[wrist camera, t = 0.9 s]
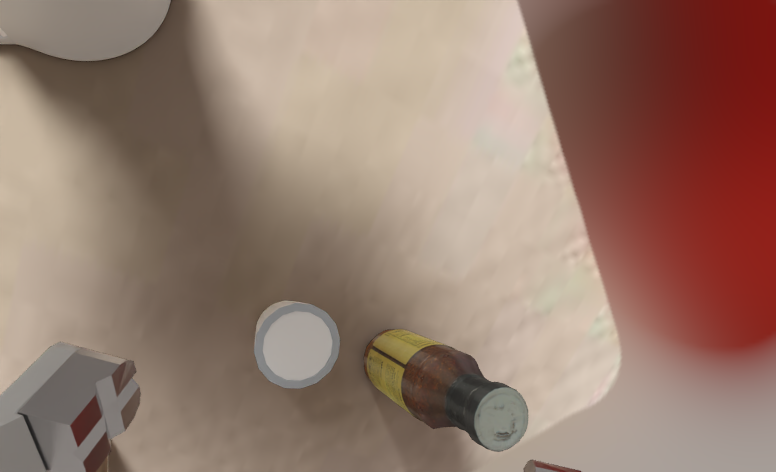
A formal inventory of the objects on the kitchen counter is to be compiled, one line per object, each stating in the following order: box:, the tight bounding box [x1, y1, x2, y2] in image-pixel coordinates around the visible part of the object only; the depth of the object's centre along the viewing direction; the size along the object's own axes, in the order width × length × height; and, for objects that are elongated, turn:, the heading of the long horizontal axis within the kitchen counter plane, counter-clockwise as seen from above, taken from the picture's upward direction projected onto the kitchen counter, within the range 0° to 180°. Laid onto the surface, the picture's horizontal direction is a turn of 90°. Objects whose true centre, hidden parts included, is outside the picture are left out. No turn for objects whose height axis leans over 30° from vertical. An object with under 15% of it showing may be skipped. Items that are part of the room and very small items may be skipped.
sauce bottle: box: [364, 329, 528, 452], centre depth 40 cm, size 7×6×20 cm
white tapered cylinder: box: [254, 300, 340, 389], centre depth 43 cm, size 7×7×7 cm
